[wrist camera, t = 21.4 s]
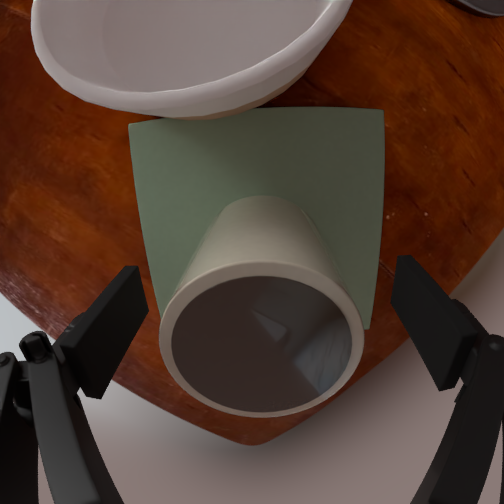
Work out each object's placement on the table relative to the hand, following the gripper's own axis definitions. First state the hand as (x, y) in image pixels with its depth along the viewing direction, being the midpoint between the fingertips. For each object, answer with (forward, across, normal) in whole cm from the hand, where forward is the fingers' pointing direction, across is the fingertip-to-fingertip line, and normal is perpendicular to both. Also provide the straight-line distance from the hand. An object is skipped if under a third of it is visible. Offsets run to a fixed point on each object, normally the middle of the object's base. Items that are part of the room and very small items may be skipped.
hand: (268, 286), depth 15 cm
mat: (+8, 0, 0) cm, 8 cm away
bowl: (+8, -3, +17) cm, 19 cm away
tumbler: (+2, -1, -6) cm, 7 cm away
